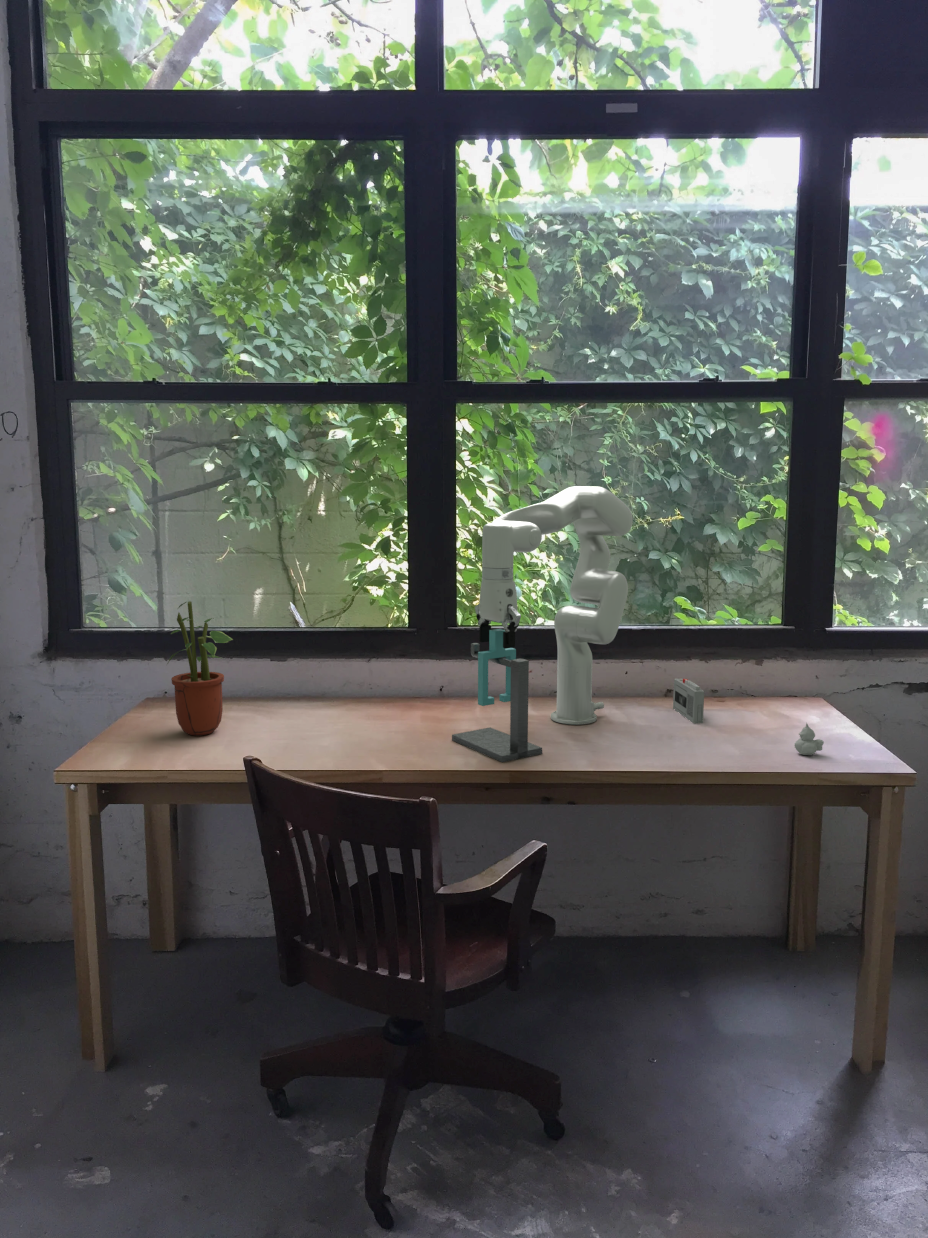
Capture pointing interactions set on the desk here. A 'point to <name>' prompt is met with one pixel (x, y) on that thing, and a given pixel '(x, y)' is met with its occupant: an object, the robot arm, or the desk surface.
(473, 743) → the hook stand
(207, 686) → the potted plant
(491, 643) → the teal link
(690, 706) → the cassette player
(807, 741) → the rubber duck
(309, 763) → the desk surface
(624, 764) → the desk surface
